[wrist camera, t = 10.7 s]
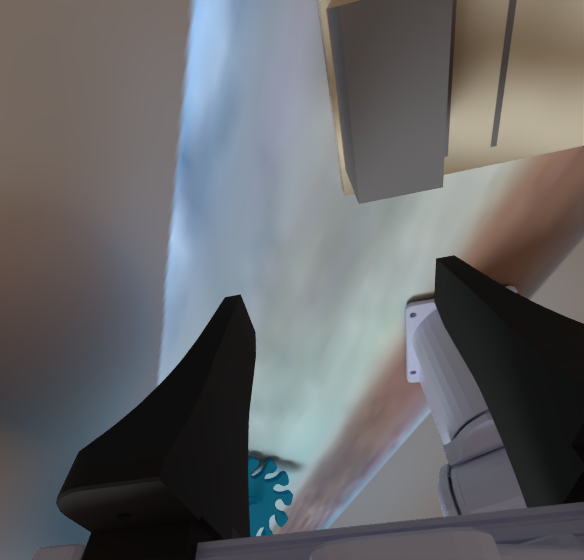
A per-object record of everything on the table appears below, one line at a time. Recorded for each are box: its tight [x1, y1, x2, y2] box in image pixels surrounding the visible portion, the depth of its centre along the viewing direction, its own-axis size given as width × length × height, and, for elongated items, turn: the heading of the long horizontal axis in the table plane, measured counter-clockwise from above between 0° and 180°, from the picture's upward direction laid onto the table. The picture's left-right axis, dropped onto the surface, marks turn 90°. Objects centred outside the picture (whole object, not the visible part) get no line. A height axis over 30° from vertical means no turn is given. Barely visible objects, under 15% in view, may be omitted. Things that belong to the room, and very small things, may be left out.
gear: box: [248, 456, 293, 537], centre depth 40 cm, size 11×6×10 cm
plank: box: [317, 0, 584, 195], centre depth 17 cm, size 10×13×1 cm
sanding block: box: [326, 0, 453, 204], centre depth 15 cm, size 7×4×4 cm, turn 12°
